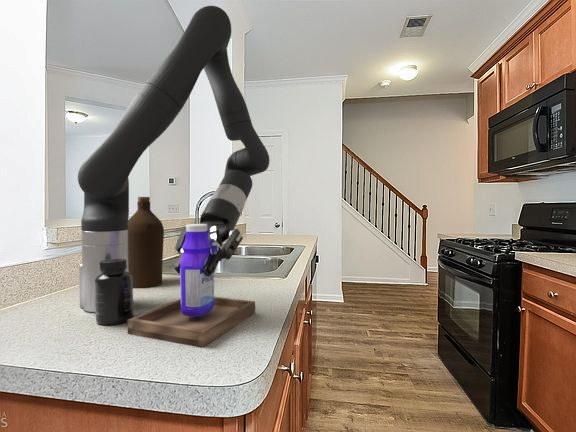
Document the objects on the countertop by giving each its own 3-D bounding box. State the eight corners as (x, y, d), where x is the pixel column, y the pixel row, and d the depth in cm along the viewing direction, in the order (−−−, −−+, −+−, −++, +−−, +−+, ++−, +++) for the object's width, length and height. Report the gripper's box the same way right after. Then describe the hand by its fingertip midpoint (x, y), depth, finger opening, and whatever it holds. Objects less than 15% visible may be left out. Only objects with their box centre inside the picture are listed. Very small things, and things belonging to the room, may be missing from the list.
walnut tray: (127, 333, 63) (127, 319, 62) (192, 304, 80) (192, 293, 80) (203, 347, 57) (202, 332, 57) (255, 313, 75) (255, 301, 74)
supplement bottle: (123, 312, 74) (123, 256, 74) (139, 319, 70) (139, 260, 70) (89, 320, 69) (88, 260, 69) (104, 328, 65) (103, 264, 64)
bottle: (203, 319, 65) (202, 226, 64) (175, 317, 66) (174, 225, 65) (218, 307, 72) (218, 223, 71) (193, 306, 73) (192, 222, 72)
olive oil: (172, 282, 103) (171, 197, 102) (145, 290, 93) (144, 196, 92) (144, 278, 107) (143, 197, 106) (115, 286, 97) (114, 196, 96)
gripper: (189, 197, 77) (151, 258, 67) (247, 197, 72) (216, 264, 61) (204, 219, 82) (170, 280, 72) (259, 221, 77) (231, 286, 67)
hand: (191, 272), depth 67 cm, fingers closed on bottle, 5 cm apart
